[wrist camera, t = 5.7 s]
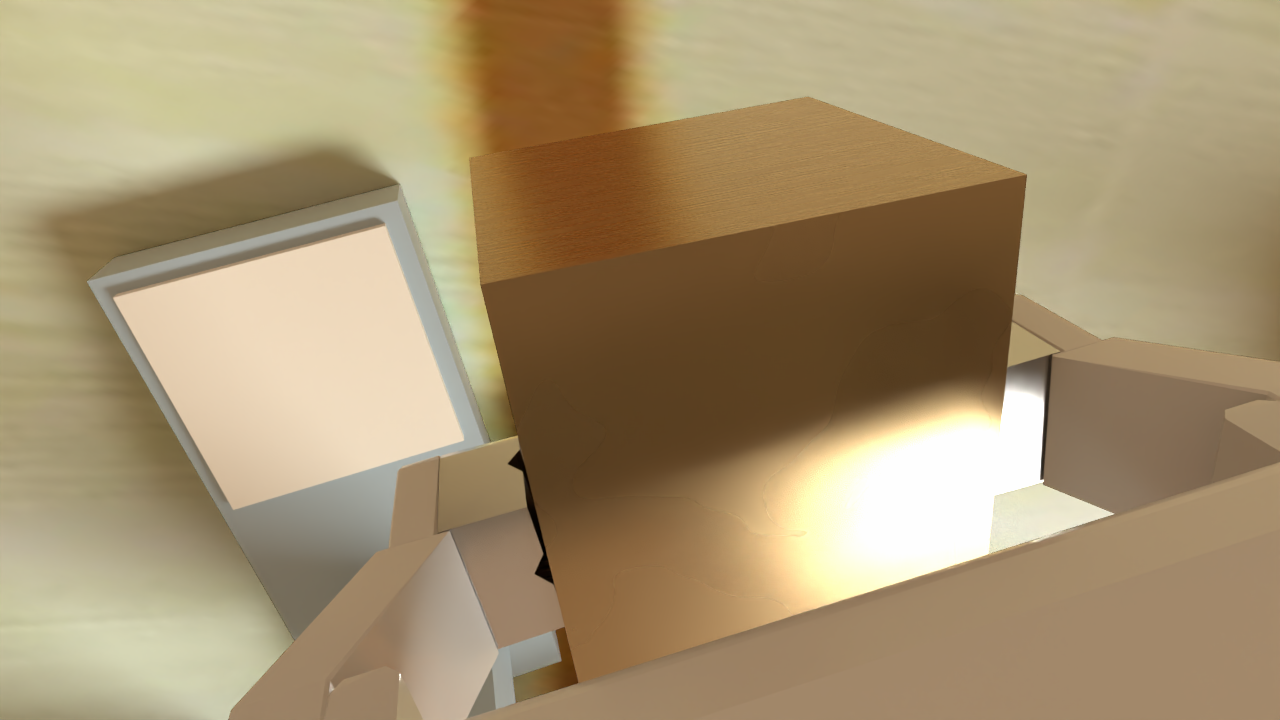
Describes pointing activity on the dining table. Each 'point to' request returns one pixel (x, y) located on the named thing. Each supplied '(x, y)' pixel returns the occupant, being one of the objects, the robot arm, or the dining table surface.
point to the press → (306, 388)
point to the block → (748, 363)
